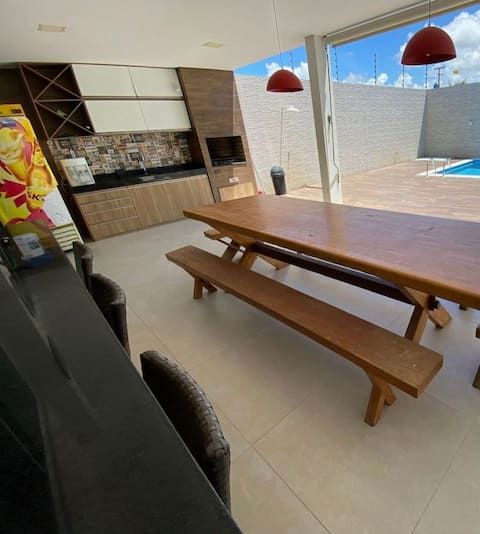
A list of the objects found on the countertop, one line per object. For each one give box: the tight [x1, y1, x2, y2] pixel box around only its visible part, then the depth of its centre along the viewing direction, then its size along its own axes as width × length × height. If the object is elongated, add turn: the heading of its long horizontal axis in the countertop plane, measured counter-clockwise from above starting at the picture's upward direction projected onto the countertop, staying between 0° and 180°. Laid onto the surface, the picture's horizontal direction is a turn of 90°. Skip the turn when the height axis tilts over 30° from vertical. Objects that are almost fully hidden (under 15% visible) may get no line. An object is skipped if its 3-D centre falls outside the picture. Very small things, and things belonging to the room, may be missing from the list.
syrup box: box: [12, 232, 48, 258], centre depth 145 cm, size 6×6×14 cm
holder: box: [20, 251, 55, 269], centre depth 148 cm, size 8×8×5 cm
